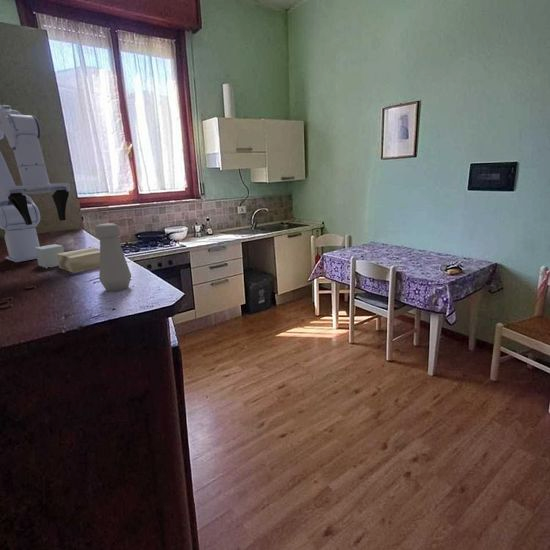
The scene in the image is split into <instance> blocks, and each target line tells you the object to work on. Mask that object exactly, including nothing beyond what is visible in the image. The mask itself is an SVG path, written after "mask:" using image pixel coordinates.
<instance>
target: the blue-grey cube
mask: <svg viewBox="0 0 550 550" xmlns="http://www.w3.org/2000/svg"><path fill="white" fill-rule="evenodd" d="M35 251H36V255H37V259H36V260H37V265H38V266H39V267H41V266H42V267H41V268H44V267H45V269H49V268H48V267H50V268H54V267H59V263H58V259H57V254H58V253H64V252H65V249H64V245H61V244H58V243H57V244H56V243H54V244H47V245H43V246H40V247H35Z"/></svg>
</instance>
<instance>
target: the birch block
mask: <svg viewBox="0 0 550 550" xmlns="http://www.w3.org/2000/svg"><path fill="white" fill-rule="evenodd" d="M57 259H58V263H59V266H58V267H59V269H62V270H64V271H68V272H70V273H73V274H75V273H80V272H85V271H90V270H95V269H100V248H97V247H94V246H93V247H87V248H82V249H75V250H69V251H64V253H58V254H57Z"/></svg>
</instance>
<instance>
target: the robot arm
mask: <svg viewBox="0 0 550 550" xmlns="http://www.w3.org/2000/svg"><path fill="white" fill-rule="evenodd" d="M41 136H42V129H41V125H40V122H39V119H38V118H37V117H36V116H35V115H34V114H29V115H28V114H27V115H26V114H22V113H21V112H20V111H19V110H15V109H12V106H11V105H7V104H0V140H2V139H4V137H6V140H7V142H8V145H9V147H10V148H11V149H12V151H13V153H14V154H13V155H14V159H15V162H16V165H17V169H18V172H19V176H20V180H21V185H16V184H15V181H14V179H13V175H12V174H11V172H10V170H9V166H8V165H7V163H6V160H5V158H4V156H3V154H2V152H1V150H0V229H2V230H4V232H5V233H4V241H5V244H6V249H7V253H8V256H5V257H4V258H5V259H6V260H9V261H12V262H14V263H20V262H26V261H31V260H37V255H36V251H35V247H41V246H40V241H39V238H38V233H37V229H36V227H38V225H39V223H40V221H41V214H40V213H41V212H40V210H39V207H38V206H37V205H36V204H35V202H34V200H33V199H32V197H31V196H29V195H34V194H47V193H53V194H52V195H51V197H52V199H53V202H54V205H55V207H56V211H57V215H58V216H57V217H58V219H59V222H62V221H63V222H64V221H66V219H67V218H66V210H67V203H68V198H69V195H70V192H71V190H72V189H71V185H70V183H68V182H67V183H65V182H64V183H50V179H49V175H48V172H47V168H46V164H45V163H46V162H45V159H44V155H43V151H42V147H41V144H40V139H41ZM34 190H35V191H34Z"/></svg>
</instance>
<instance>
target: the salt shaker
mask: <svg viewBox="0 0 550 550" xmlns="http://www.w3.org/2000/svg"><path fill="white" fill-rule="evenodd" d="M120 230H121V229H120V227H119V225H117V224H116V223H113V222H108V223H107V222H106V223H101V224H97V225H96V226H95V227H94V233H95V236H96V237H97V238H99V249H100V267H99V275H98V276H99V277H98V278H99V281H100V283H101V285H102V286H103V287H104V289H105V291H106V292H112V293H113V292H119V291H124V290H126V289H128V288H129V286H130V282H131V280H132V273H131V271H130V268H129V265H128V262H127V260H126V257H125V254H124V251H123V249H122V247H121V243H120V240H119V238H118V236H119V235H120V234H121V232H120Z"/></svg>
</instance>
